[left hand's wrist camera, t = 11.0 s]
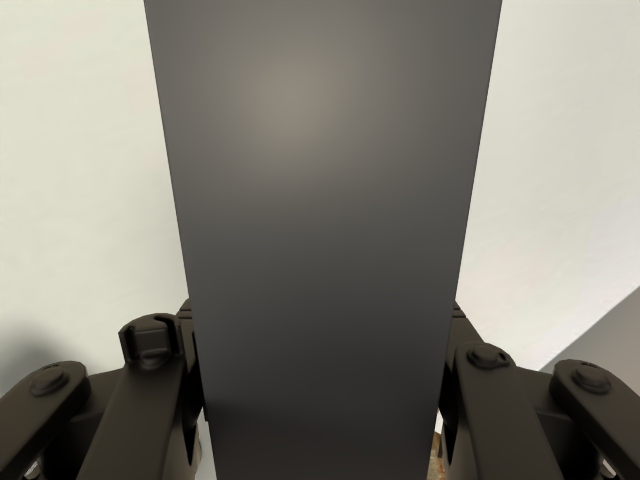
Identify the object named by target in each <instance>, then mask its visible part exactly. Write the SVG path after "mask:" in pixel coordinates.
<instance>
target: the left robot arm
mask: <svg viewBox="0 0 640 480" xmlns="http://www.w3.org/2000/svg"><path fill="white" fill-rule="evenodd" d="M118 335H119V339H120V343H121V347H122V351H123V355H124V359H125V365H124V367H123V368H121V369H117V370H113V371H109V372H104V373H99V374H94V375H90V376H88V374H87V370H86V367H85V366H84V365H83V364H82V363H80V362H75V361H64V362H57V363H53V364H50V365H47V366H44V367H42V368H40V369H38V370H36V371H34V372H32V373H31V374H29V375H28V376H26V377H25V378H24V379H22V380H21V381H20V382H19V383H17V384H16V385H15V386H14V387H13V388H12V389H11V390H10V391H9V392H7V393H6V394H5V395H4V396H3V397H2V398H1V399H0V480H194V478H195V474H196V471H197V468H198V465H199V462H200V458H201V449H200V445H199V442H198V440H199V432H198V426H197V419H198V417H199V414H200V411H201V409H202V406H203V411H204V417H205V421H208V418H207V411H206V405H205V398H204V392H203V385H202V379H201V372H200V365H199V359H198V352H197V346H196V339H195V333H194V326H193V320H192V313H191V307H190V300H189V298H188V299H187V300H186V301H185V302H184V304H183V305H182V306H181V308H180V309H179V311H178V312H177V314H176V315H172V314H168V313H155V314H150V315H145V316H142V317H140V318H137V319H135V320H132V321H131V322H129V323H128V324H126V325H125V326H123V328H122V329H121V330H120V331H119V332H118ZM438 408H439V410H440V413H441V415H442V418H443V426H442V432H441V438H440V444H439V450H438V457H437V458H442V456H443V459H444V468H445V478H446V480H640V397H639V396H638V395H637V394H636V393H635V392H634V391H633V390H631V389H630V388H629V387H628V386H627V385H626V384H625V383H624V382H622V381H621V380H620V379H619V378H617V377H616V376H615V375H613V374H612V373H611V372H609V371H607V370H605V369H603V368H601V367H599V366H597V365H595V364H592V363H588V362H585V361H581V360H572V359H567V360H561V361H559V362H558V363H557V364H555V366H554V369H553V373H552V374H548V373H543V372H538V371H534V370H529V369H525V368H521V367H518V366H516V364H515V362H514V361H513V359H512V358H511V356H510V355H509V354H507V353H506V352H505V351H503V350H502V349H501V348H498V347H496V346H494V345H492V344H489V343H485V342H484V341H483V340H482V338H481V337H480V335H479V334H478V333H477V331H476V330H475V328H474V327H473V325H472V324H471V323H470V321H469V320H468V318H466V315H465V314H464V312H463V311H462V310H461V308H460V307H459V305H458V304H457V302H456V301H455V303H454V310H453V316H452V322H451V329H450V335H449V341H448V348H447V354H446V361H445V367H444V373H443V380H442V386H441V392H440V399H439V405H438ZM604 459H605V460H606V461H607V463H608V464H609V465H610V466H611V467H612V469H613V470H614V471H615V472H616V475H615V476H614V475H613V474H612V473H611V472H610V471H609V470H608V469H607V468H606V467H605V466H604V464H603V460H604ZM35 461H37V464H38V465H37V466H36V467H35V468H34V470H33V471H32V472H31V473H30V474H29V475H28V476H27V477H25V476H24V475H25V473H26V472H27V471H28V470H29V468H30V467H31V466H32V465H33V464H34V462H35Z"/></svg>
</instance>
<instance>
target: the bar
mask: <svg viewBox="0 0 640 480" xmlns="http://www.w3.org/2000/svg"><path fill="white" fill-rule="evenodd" d="M501 5H502V0H144V6H145V12H146V19H147V25H148V32H149V38H150V45H151V52H152V58H153V65H154V71H155V78H156V84H157V91H158V97H159V104H160V110H161V117H162V123H163V130H164V137H165V143H166V150H167V156H168V163H169V169H170V176H171V182H172V189H173V195H174V202H175V209H176V215H177V222H178V228H179V235H180V241H181V248H182V254H183V261H184V267H185V274H186V280H187V287H188V294H189V300H190V307H191V313H192V320H193V326H194V333H195V339H196V346H197V352H198V359H199V365H200V372H201V379H202V385H203V392H204V398H205V405H206V411H207V418H208V424H209V431H210V437H211V444H212V450H213V457H214V464H215V470H216V477H217V480H427V475H428V468H429V462H430V456H431V449H432V443H433V437H434V430H435V424H436V418H437V411H438V405H439V399H440V392H441V386H442V380H443V373H444V367H445V361H446V354H447V348H448V341H449V335H450V329H451V322H452V316H453V310H454V303H455V297H456V291H457V284H458V278H459V272H460V265H461V259H462V253H463V246H464V240H465V234H466V227H467V221H468V215H469V208H470V202H471V196H472V189H473V183H474V177H475V170H476V164H477V158H478V151H479V145H480V139H481V132H482V126H483V120H484V113H485V107H486V101H487V94H488V88H489V82H490V75H491V69H492V63H493V56H494V50H495V44H496V37H497V31H498V24H499V18H500V12H501Z"/></svg>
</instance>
